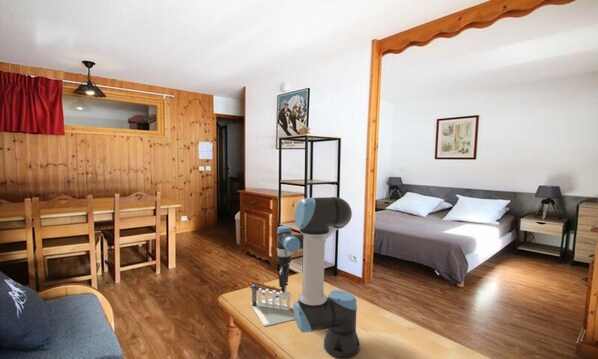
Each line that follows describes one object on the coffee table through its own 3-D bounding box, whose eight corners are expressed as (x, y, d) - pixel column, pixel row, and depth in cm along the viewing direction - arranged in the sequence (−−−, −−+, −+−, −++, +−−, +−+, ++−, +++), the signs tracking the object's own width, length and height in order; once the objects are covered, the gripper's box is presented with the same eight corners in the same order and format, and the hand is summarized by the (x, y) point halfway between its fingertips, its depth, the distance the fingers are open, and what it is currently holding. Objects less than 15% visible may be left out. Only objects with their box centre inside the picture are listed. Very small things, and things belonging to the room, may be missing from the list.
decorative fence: (277, 298, 169) (288, 292, 178) (277, 295, 169) (288, 289, 177) (245, 288, 183) (256, 282, 191) (245, 284, 183) (256, 279, 191)
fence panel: (257, 305, 160) (257, 289, 160) (258, 303, 162) (258, 287, 161) (289, 310, 156) (289, 293, 155) (290, 308, 157) (290, 292, 157)
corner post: (258, 306, 161) (258, 285, 160) (252, 307, 160) (252, 286, 159) (256, 303, 164) (256, 283, 163) (250, 304, 163) (250, 284, 162)
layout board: (296, 319, 149) (296, 318, 149) (264, 326, 142) (264, 326, 142) (278, 297, 171) (278, 296, 171) (249, 303, 164) (249, 302, 164)
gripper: (281, 250, 168) (280, 291, 170) (273, 258, 155) (272, 302, 157) (294, 252, 166) (293, 293, 168) (287, 259, 153) (286, 304, 155)
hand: (283, 297), depth 162 cm, fingers closed
